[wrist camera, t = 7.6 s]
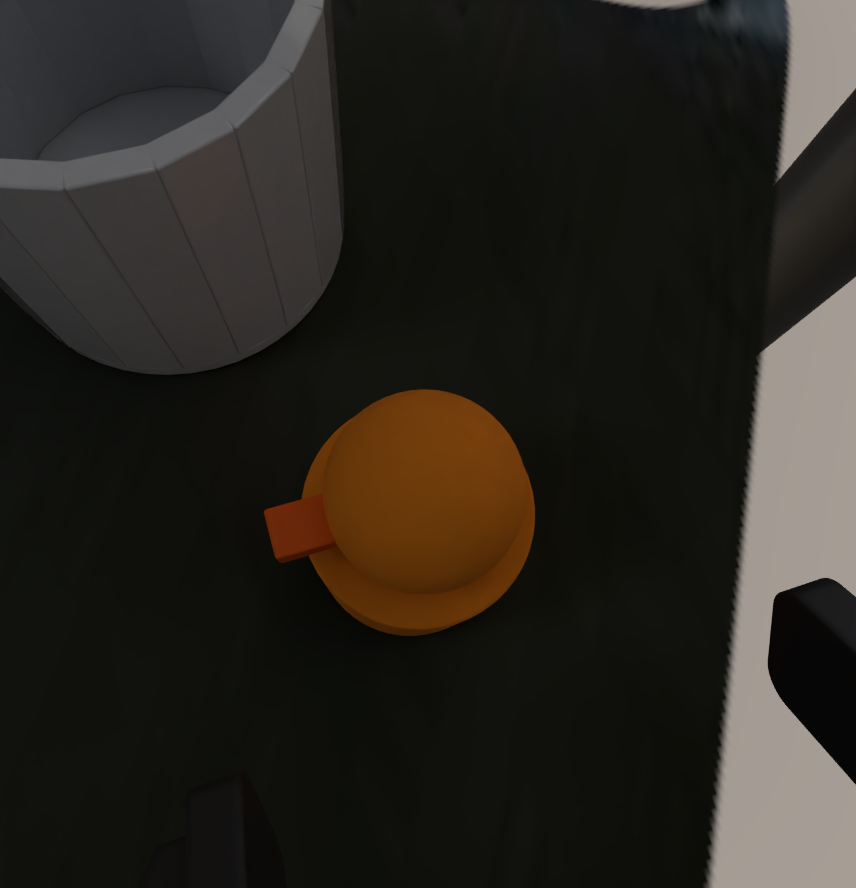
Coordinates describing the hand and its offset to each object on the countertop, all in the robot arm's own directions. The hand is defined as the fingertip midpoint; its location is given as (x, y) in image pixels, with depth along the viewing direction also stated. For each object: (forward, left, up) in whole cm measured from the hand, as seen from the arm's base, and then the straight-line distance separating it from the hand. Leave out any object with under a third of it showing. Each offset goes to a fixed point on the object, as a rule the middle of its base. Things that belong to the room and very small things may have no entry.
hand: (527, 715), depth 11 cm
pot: (+4, -16, -9) cm, 19 cm away
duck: (0, -4, -9) cm, 10 cm away
